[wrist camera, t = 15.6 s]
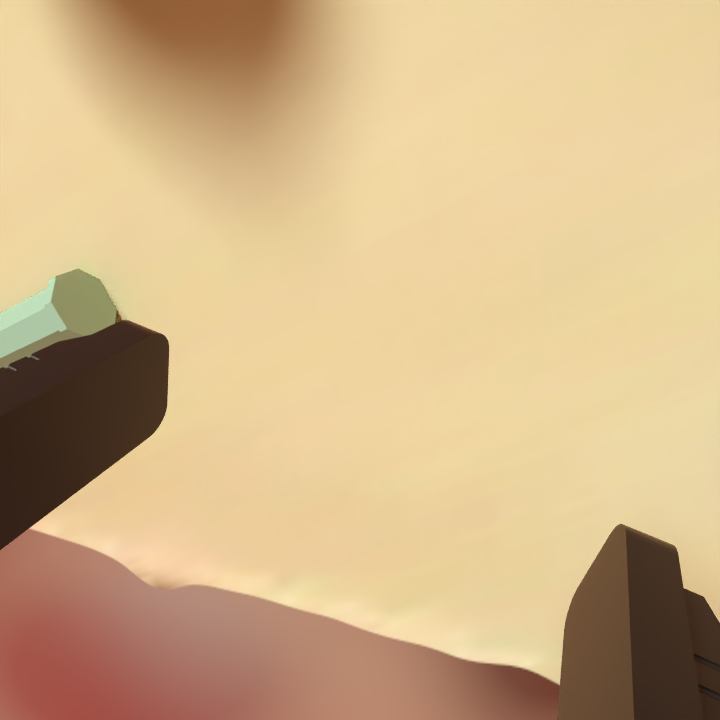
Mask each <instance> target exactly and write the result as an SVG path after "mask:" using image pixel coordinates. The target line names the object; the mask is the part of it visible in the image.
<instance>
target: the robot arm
mask: <svg viewBox="0 0 720 720" xmlns="http://www.w3.org/2000/svg"><path fill="white" fill-rule="evenodd" d="M168 366H169V343H168V340H167V338H166V337H165V336H164V335H163V334H160V333H158V332H155V331H153V330H151V329H148V328H146V327H143V326H141V325H138V324H136V323H133V322H131V321H128V320H123V321H119V322H117V323H115V324H113V325H111V326H109V327H106V328H104V329H102V330H100V331H98V332H96V333H94V334H92V335H87V336H82V337H77V338H73V339H68V340H63V341H58V342H56V343H54V344H52V345H50V346H48V347H45V348H43V349H41V350H39V351H37V352H34V353H32V354H31V357H30V358H28V357H24V358H21V359H19V360H17V361H15V362H13V363H10V364H9V366H8V367H7V368H4V367H2V368H0V550H1V549H2V548H3V547H5V546H6V545H8V544H9V543H10V542H11V541H13V540H14V539H15V538H17V537H18V536H19V535H20V534H22V533H23V532H25V531H26V530H27V529H29V528H30V527H31V526H33V525H34V524H35V523H37V522H38V521H39V520H41V519H42V518H43V517H44V516H46V515H47V514H48V513H50V512H51V511H52V510H54V509H55V508H56V507H58V506H59V505H60V504H62V503H63V502H64V501H66V500H67V499H68V498H70V497H71V496H72V495H73V494H75V493H76V492H77V491H79V490H80V489H81V488H83V487H84V486H85V485H87V484H88V483H89V482H91V481H92V480H93V479H95V478H96V477H97V476H99V475H100V474H101V473H103V472H104V471H105V470H106V469H108V468H109V467H110V466H112V465H113V464H114V463H116V462H117V461H118V460H120V459H121V458H122V457H124V456H125V455H126V454H128V453H129V452H130V451H132V450H133V449H134V448H135V447H137V446H138V445H139V444H141V443H142V442H143V441H145V440H146V439H147V438H149V437H150V436H151V435H152V434H153V433H154V432H155V431H156V430H157V428H158V427H159V425H160V424H161V422H162V420H163V418H164V416H165V412H166V408H167V394H168ZM557 720H720V623H719V621H718V619H717V618H716V616H715V615H714V613H713V611H712V610H711V608H710V606H709V605H708V603H707V601H706V600H705V598H704V597H703V596H701V595H698V594H696V593H694V592H691V591H689V590H687V589H684V588H683V583H682V576H681V570H680V563H679V557H678V552H677V549H676V547H675V546H674V545H672V544H669V543H667V542H664V541H662V540H659V539H657V538H654V537H652V536H650V535H647V534H645V533H642V532H640V531H637V530H635V529H633V528H630V527H628V526H625V525H623V524H619V525H617V526H616V527H615V528H614V530H613V531H612V532H611V534H610V535H609V537H608V539H607V540H606V542H605V544H604V545H603V547H602V549H601V550H600V552H599V554H598V555H597V557H596V559H595V560H594V562H593V564H592V565H591V567H590V568H589V570H588V572H587V573H586V575H585V577H584V578H583V580H582V582H581V583H580V585H579V587H578V588H577V590H576V592H575V594H574V596H573V599H572V601H571V604H570V607H569V610H568V614H567V618H566V622H565V629H564V640H563V653H562V666H561V679H560V692H559V706H558V717H557Z"/></svg>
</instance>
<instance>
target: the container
mask: <svg viewBox="0 0 720 720" xmlns="http://www.w3.org/2000/svg"><path fill="white" fill-rule="evenodd" d="M116 312H117V309H116V307H115V305H114V304H113V302H112V300H111V298H110V297H109V295H108V293H107V291H106V290H105V288H104V286H103V284H102V283H101V281H100V280H99V279H97V278H95V277H93V276H92V275H90V274H88V273H86V272H84V271H82V270H80V269H76V270H73V271H70V272H67V273H64V274H61V275H58V276H56V277H54V278H52V279H50V280H49V284H48V288H46V289H45V290H43V291H41V292H39V293H37V294H35V295H33V296H32V297H30V298H28V299H26V300H24V301H22V302H20V303H18V304H17V305H15V306H13V307H11V308H9V309H7V310H5V311H4V312H2V313H0V368H2V367H4V368H7V367H8V366H9V364H10V363H13V362H15V361H17V360H19V359H21V358H24V357H28V358H30V357H31V354H32V353H34V352H37V351H39V350H41V349H43V348H45V347H48V346H50V345H52V344H54V343H56V342H58V341H63V340H68V339H73V338H77V337H82V336H87V335H92V334H94V333H96V332H98V331H100V330H102V329H104V328H106V327H109V326H111V325H113V324H115V319H116Z"/></svg>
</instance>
